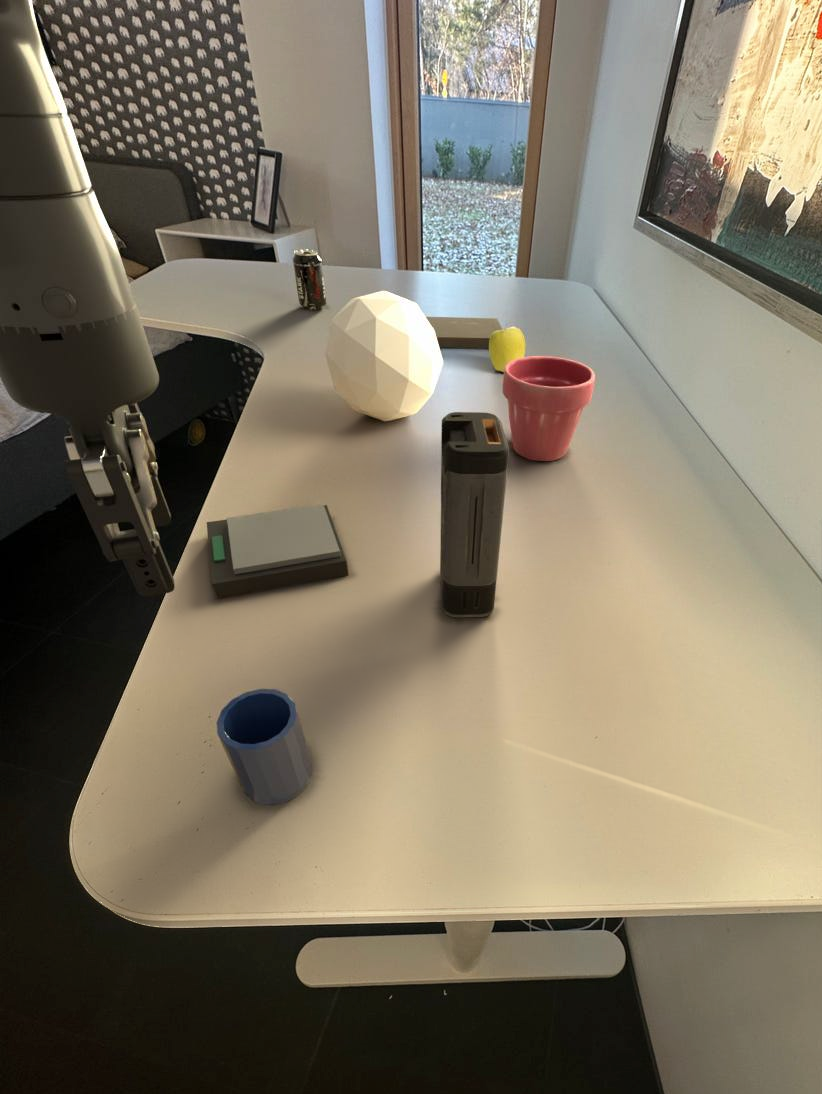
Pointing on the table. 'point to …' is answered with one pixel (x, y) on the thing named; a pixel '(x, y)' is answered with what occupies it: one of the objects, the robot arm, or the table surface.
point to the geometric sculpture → (383, 356)
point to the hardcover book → (464, 331)
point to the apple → (506, 347)
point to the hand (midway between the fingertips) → (157, 555)
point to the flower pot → (545, 403)
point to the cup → (265, 745)
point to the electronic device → (471, 511)
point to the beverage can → (309, 279)
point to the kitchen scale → (274, 550)
